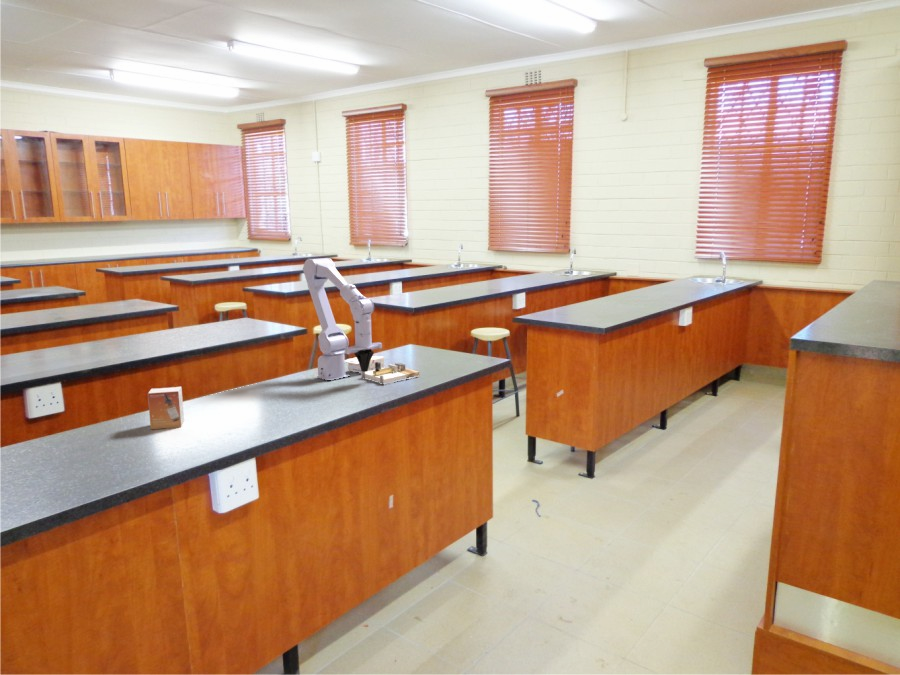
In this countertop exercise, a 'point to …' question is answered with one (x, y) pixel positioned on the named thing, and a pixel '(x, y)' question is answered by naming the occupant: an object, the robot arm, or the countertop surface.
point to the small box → (166, 407)
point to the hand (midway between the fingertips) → (364, 371)
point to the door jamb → (406, 370)
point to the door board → (385, 375)
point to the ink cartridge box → (355, 366)
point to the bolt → (381, 371)
